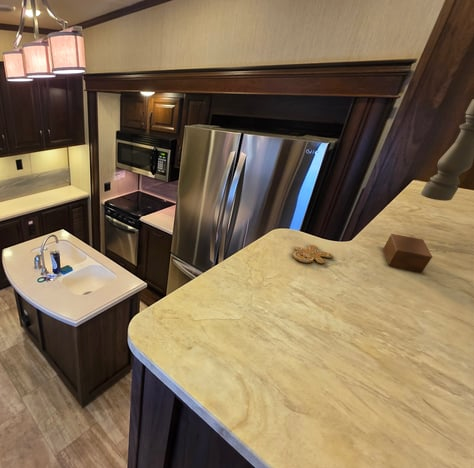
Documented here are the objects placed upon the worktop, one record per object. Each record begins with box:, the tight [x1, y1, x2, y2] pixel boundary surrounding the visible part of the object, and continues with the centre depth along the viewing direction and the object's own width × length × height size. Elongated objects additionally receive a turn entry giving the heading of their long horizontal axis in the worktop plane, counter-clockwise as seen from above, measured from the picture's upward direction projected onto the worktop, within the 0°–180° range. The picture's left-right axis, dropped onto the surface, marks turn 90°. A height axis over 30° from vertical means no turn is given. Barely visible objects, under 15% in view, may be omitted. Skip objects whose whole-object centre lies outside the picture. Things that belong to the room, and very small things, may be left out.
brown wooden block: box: [383, 233, 433, 274], centre depth 76 cm, size 6×9×5 cm
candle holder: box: [420, 98, 474, 202], centre depth 75 cm, size 6×6×25 cm
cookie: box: [292, 244, 334, 264], centre depth 80 cm, size 8×1×10 cm
